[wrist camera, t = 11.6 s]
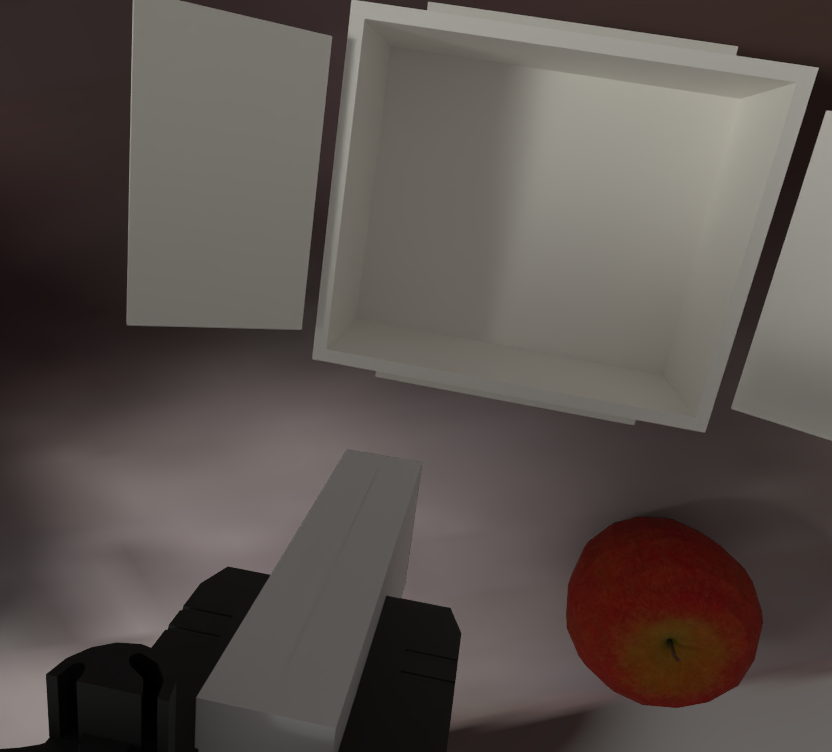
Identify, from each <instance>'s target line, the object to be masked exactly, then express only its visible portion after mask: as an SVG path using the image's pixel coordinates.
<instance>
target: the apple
mask: <svg viewBox="0 0 832 752" xmlns="http://www.w3.org/2000/svg"><path fill="white" fill-rule="evenodd" d="M566 618H567V629H568V632H569V634H570V636H571V639H572V641H573V643H574V646H575V648H576V651H577V653H578V655H579V657H580V658H581V660H582V661H583V662H584V664H585V665H586V666H587V667H588V668H589V669H590V670H591V671H592V672H593V673H594V674H595V675H596V676H597V677H598V678H599V679H600V680H601V681H602V682H603V683H604V684H605V685H606V686H608V687H609V688H610V689H611V690H613V691H614V692H616V693H618V694H620V695H623V696H625V697H627V698H629V699H631V700H633V701H635V702H637V703H640V704H642V705H650V706H662V707H673V708H678V707H684V706H690V705H695V704H700V703H706V702H709V701H711V700H713V699H715V698H717V697H718V696H720V695H722V694H724V693H726V692H727V691H729V690H731V689H733V688H734V687H736V686H738V685H739V683H740V682H741V680H742V679H743V677H744V676H745V674H746V672H747V671H748V669H749V668H750V666H751V664H752V663H753V661H754V659H755V655H756V650H757V646H758V642H759V637H760V633H761V628H762V624H763V619H762V610H761V607H760V604H759V601H758V598H757V594H756V591H755V588H754V585H753V582H752V580H751V579H750V577H749V575H748V574H747V572H746V570H745V569H744V568H743V567H742V566H741V565H740V564H739V563H738V562H737V561H736V560H735V559H734V558H733V557H732V556H731V555H730V554H728V553H727V552H726V551H725V550H724V549H723V548H722V547H721V546H720V545H718V544H717V543H716V542H714V541H713V540H711V539H710V538H709V537H707V536H705V535H704V534H702V533H701V532H699V531H697V530H695V529H693V528H691V527H688V526H686V525H684V524H682V523H679V522H677V521H675V520H672V519H664V518H650V517H634V518H631V519H627V520H624V521H620V522H617V523H614V524H612V525H611V526H609V527H608V528H606V529H605V530H604V531H602V532H601V533H600V534H598V535H597V536H595V537H594V538H593V539H591V540H590V541H589V542H588V543H587V545H586V546H585V547H584V550H583V552H582V554H581V556H580V558H579V560H578V562H577V565H576V567H575V569H574V571H573V573H572V576H571V578H570V581H569V584H568V595H567V610H566Z"/></svg>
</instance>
